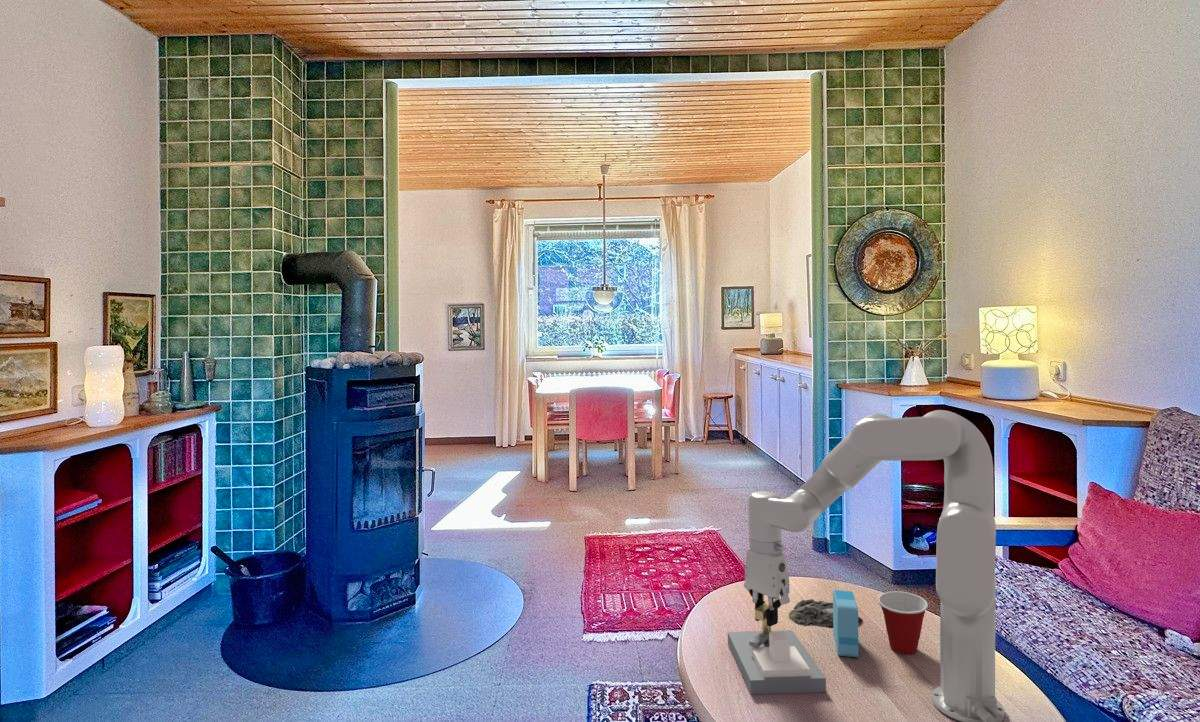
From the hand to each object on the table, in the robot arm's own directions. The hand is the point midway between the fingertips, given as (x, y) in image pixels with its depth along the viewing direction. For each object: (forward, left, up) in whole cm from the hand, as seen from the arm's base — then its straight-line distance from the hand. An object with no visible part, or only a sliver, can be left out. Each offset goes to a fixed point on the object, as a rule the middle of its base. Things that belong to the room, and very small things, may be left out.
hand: (766, 621), depth 148 cm
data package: (+3, -20, -8) cm, 22 cm away
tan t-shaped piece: (-1, +1, -5) cm, 5 cm away
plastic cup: (+1, -33, -8) cm, 34 cm away
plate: (-5, 0, -8) cm, 10 cm away
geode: (+21, -21, -9) cm, 31 cm away
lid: (-10, 0, -5) cm, 11 cm away
